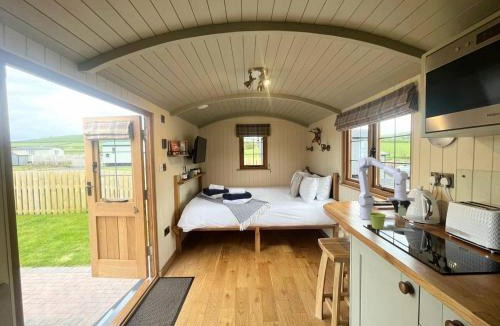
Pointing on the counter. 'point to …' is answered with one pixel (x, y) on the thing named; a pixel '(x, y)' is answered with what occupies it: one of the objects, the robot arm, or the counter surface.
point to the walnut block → (399, 223)
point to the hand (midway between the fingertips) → (400, 212)
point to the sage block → (401, 211)
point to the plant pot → (377, 220)
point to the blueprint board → (401, 228)
